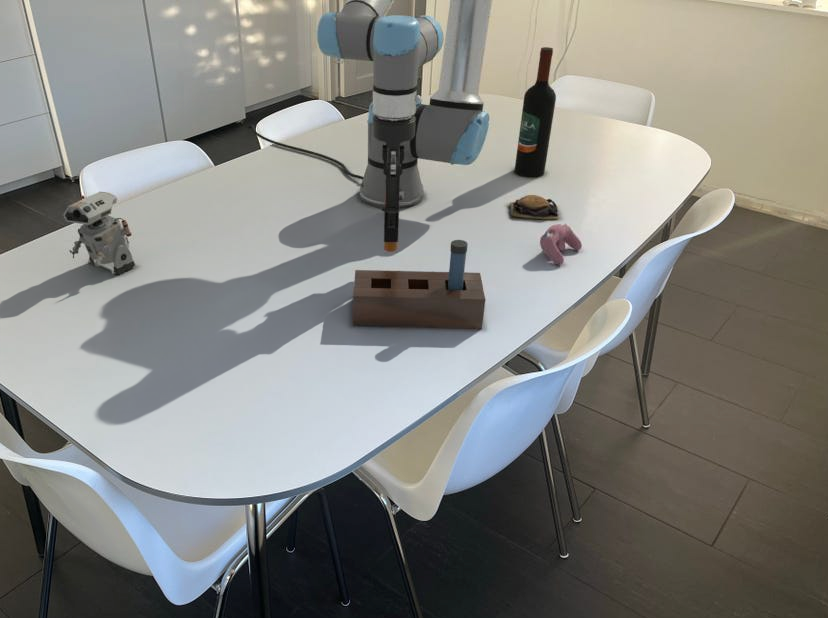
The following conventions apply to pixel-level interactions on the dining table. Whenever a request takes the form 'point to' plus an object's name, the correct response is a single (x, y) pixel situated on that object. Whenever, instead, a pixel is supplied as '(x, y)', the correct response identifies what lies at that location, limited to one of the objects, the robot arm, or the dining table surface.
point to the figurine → (101, 231)
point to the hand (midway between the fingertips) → (390, 237)
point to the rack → (417, 300)
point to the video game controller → (558, 242)
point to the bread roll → (534, 208)
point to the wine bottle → (536, 122)
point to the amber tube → (389, 245)
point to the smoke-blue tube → (457, 264)
